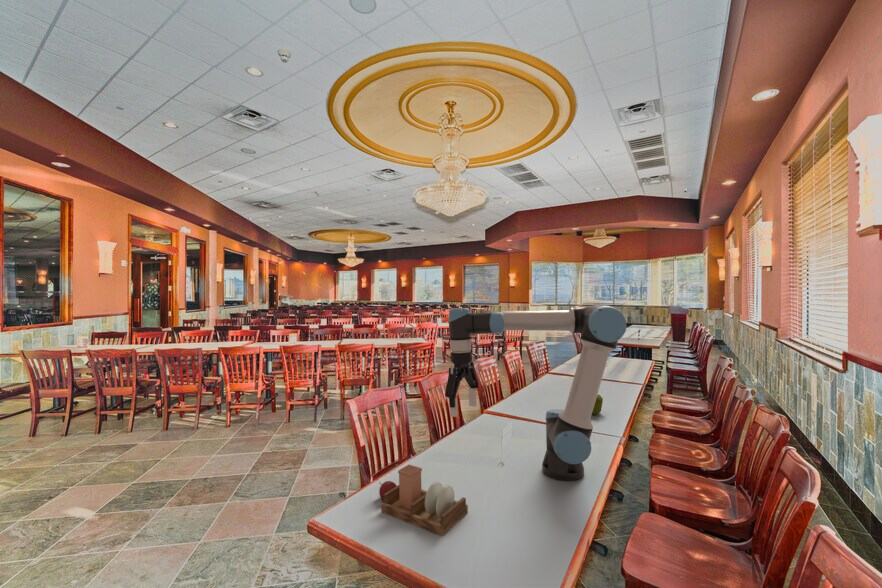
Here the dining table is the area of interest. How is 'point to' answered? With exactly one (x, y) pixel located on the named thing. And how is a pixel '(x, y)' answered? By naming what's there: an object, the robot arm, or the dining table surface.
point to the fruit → (386, 488)
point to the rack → (423, 512)
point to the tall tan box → (409, 485)
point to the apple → (597, 405)
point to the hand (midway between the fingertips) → (463, 411)
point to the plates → (439, 499)
